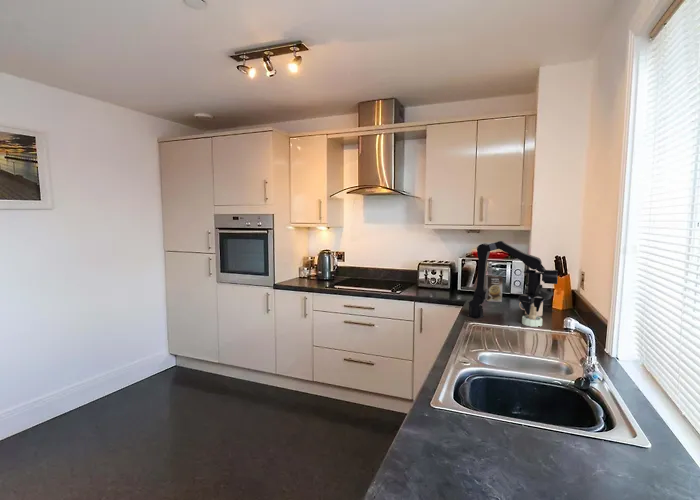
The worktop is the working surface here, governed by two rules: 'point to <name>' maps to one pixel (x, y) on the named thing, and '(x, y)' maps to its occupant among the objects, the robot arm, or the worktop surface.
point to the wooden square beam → (532, 313)
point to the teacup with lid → (536, 312)
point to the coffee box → (494, 288)
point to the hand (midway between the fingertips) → (532, 313)
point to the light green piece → (531, 321)
